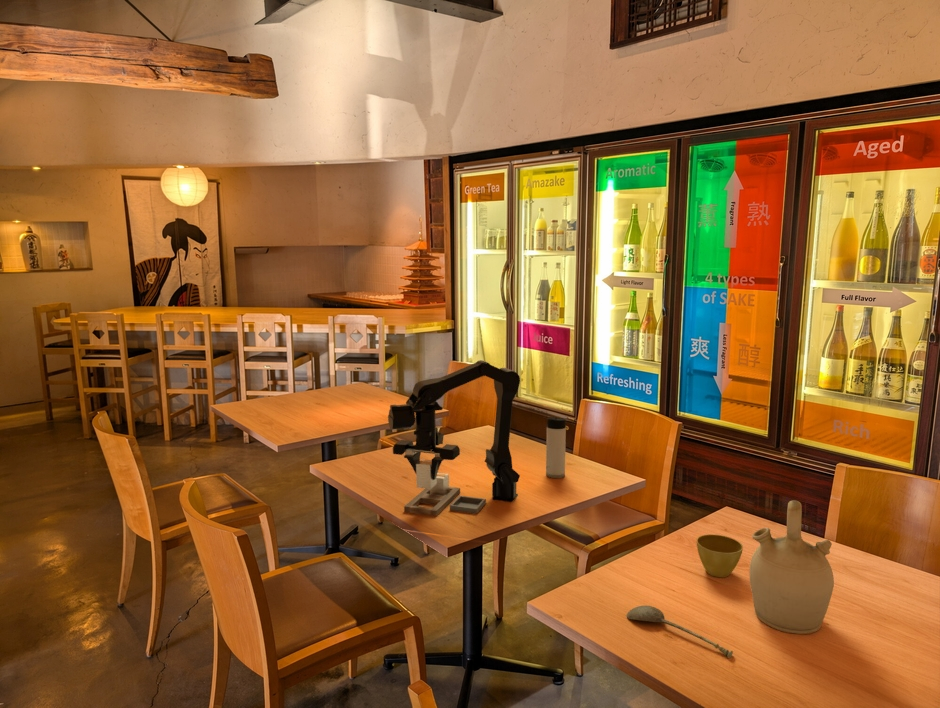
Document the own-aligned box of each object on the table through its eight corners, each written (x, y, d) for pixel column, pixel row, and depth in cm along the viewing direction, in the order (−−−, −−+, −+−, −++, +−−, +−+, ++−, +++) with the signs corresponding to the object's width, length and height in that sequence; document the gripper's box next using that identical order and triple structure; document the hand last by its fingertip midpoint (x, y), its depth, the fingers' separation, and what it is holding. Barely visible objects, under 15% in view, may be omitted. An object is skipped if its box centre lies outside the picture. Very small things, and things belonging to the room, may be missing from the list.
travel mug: (542, 476, 217) (543, 418, 214) (549, 471, 223) (550, 413, 220) (560, 479, 214) (561, 420, 211) (567, 473, 220) (568, 416, 217)
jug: (733, 618, 133) (741, 501, 129) (764, 590, 144) (772, 482, 140) (814, 650, 122) (825, 524, 119) (840, 618, 133) (851, 501, 129)
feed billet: (436, 483, 190) (436, 460, 189) (430, 489, 186) (430, 464, 185) (422, 482, 191) (422, 458, 190) (416, 487, 187) (416, 463, 186)
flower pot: (719, 559, 159) (721, 531, 158) (751, 578, 150) (753, 548, 148) (685, 566, 155) (687, 537, 154) (715, 586, 146) (717, 556, 145)
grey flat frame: (460, 494, 202) (460, 488, 201) (436, 517, 184) (436, 510, 184) (430, 490, 205) (430, 484, 205) (404, 512, 187) (404, 506, 187)
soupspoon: (638, 609, 139) (620, 622, 134) (637, 594, 138) (619, 607, 134) (739, 651, 123) (722, 668, 118) (739, 635, 122) (722, 651, 118)
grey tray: (485, 504, 193) (485, 498, 193) (476, 515, 186) (476, 509, 185) (459, 501, 196) (459, 495, 196) (449, 511, 188) (449, 505, 188)
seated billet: (449, 495, 200) (448, 473, 199) (443, 501, 196) (443, 478, 195) (435, 494, 202) (435, 471, 201) (430, 499, 198) (429, 476, 197)
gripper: (466, 421, 190) (466, 472, 193) (407, 416, 196) (408, 466, 199) (452, 431, 180) (453, 485, 182) (391, 425, 186) (392, 478, 189)
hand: (426, 478), depth 188 cm, fingers closed on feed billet, 4 cm apart
